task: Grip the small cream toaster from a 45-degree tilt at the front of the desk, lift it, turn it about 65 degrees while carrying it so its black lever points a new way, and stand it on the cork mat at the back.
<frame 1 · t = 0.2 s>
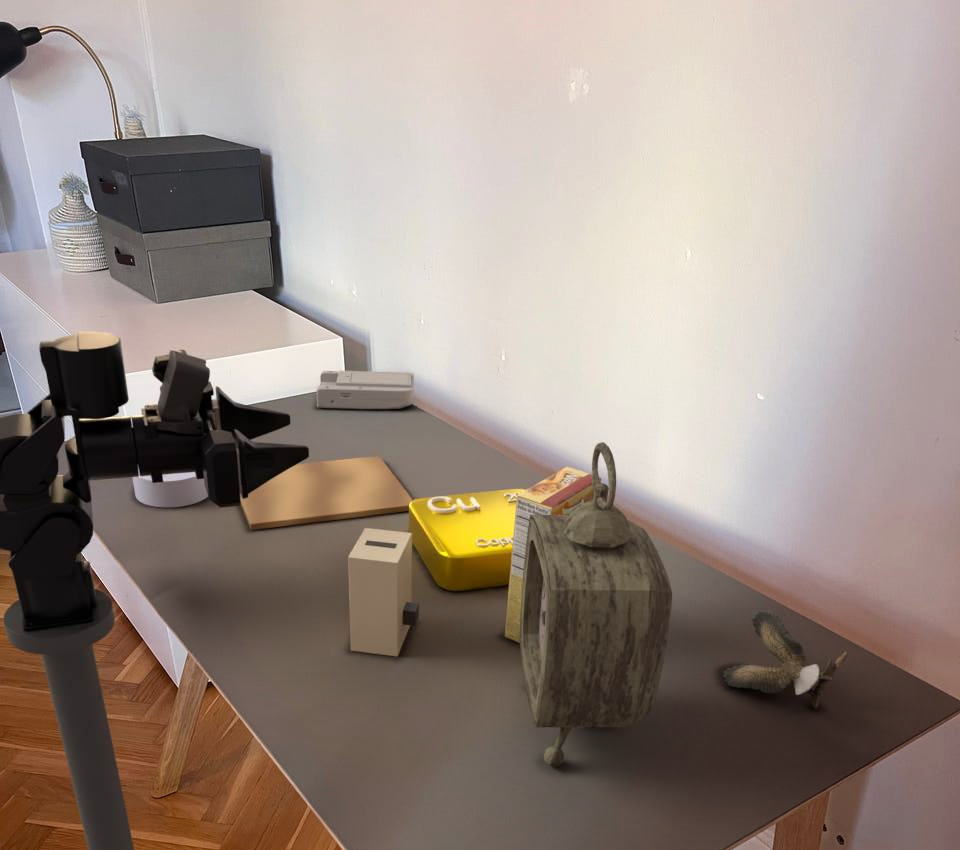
hand: (299, 434, 95), 15 cm above the table, tool horizontal, fingers open, 9 cm apart
tabletop clock: (575, 725, 81), on the table
candy box: (544, 628, 94), on the table
element tile: (485, 555, 106), on the table
handheld gaming device: (366, 375, 146), point 4 cm above the table
toaster: (381, 636, 91), on the table
cork mat: (320, 492, 118), on the table
wedge on round base: (173, 486, 118), on the table
eagle figurine: (774, 690, 87), on the table
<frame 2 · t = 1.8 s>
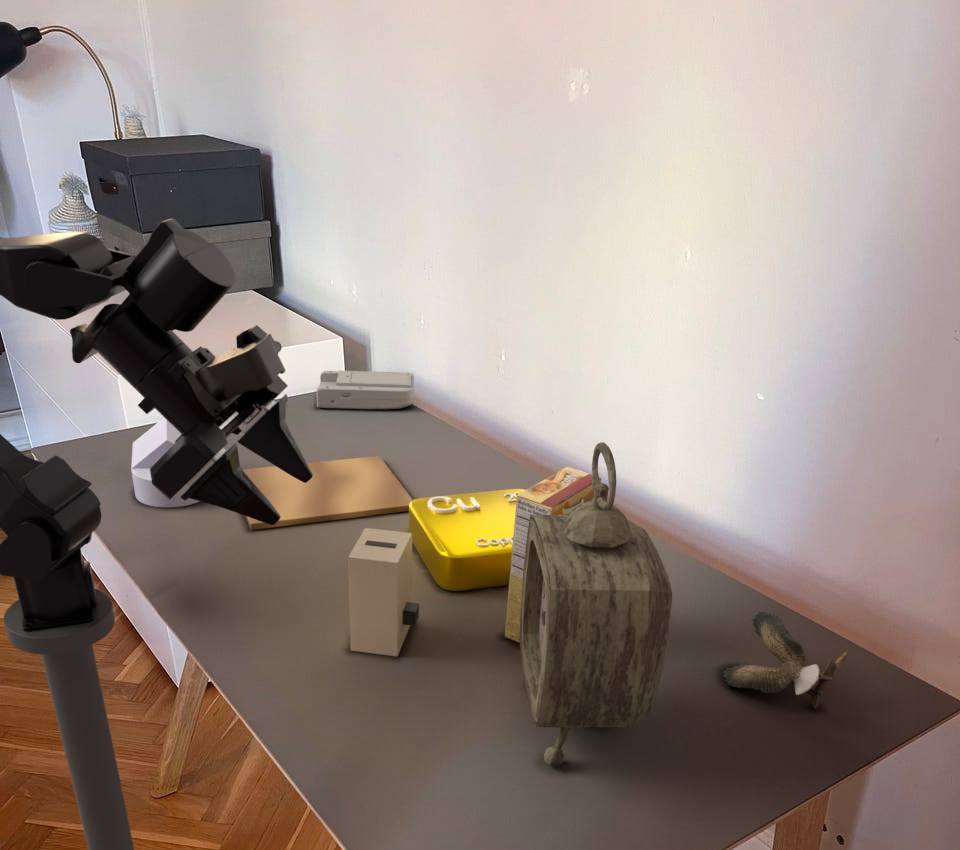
hand: (294, 499, 84), 14 cm above the table, tool tilted 45°, fingers open, 9 cm apart
nothing on the table moved.
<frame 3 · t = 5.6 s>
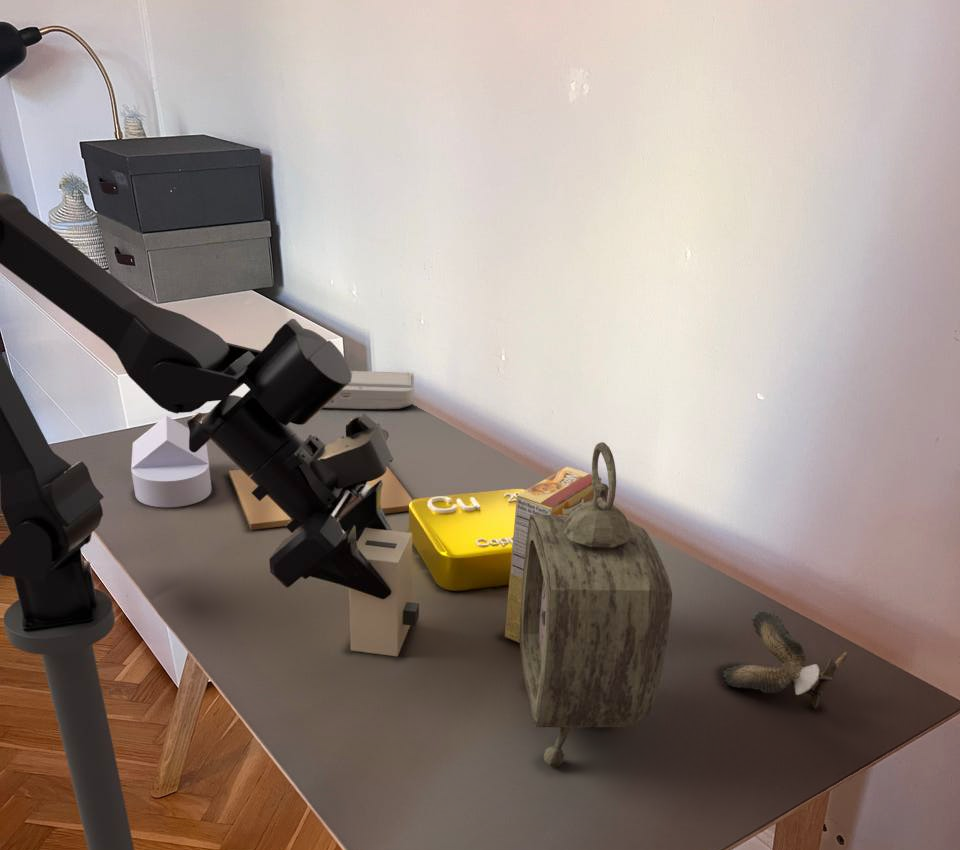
hand: (395, 579, 87), 7 cm above the table, tool tilted 45°, fingers closed on toaster, 6 cm apart
toaster: (381, 636, 91), on the table, touching gripper
everything else where it was.
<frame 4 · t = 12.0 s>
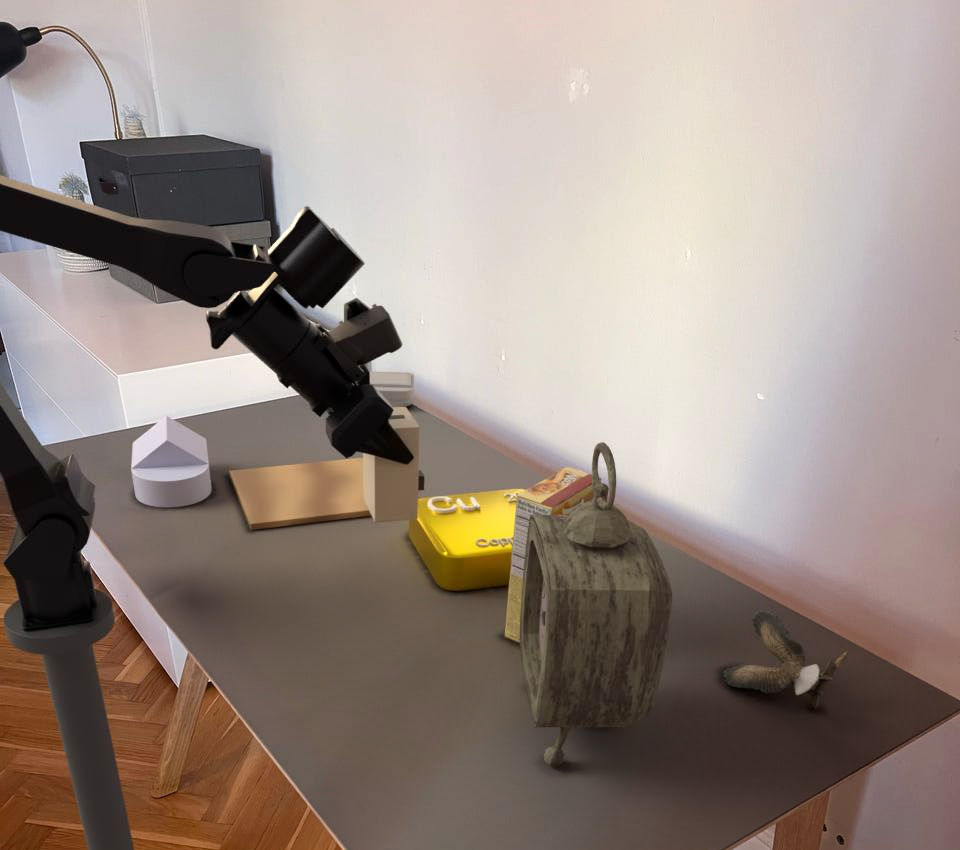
hand: (403, 449, 96), 13 cm above the table, tool tilted 45°, fingers closed on toaster, 6 cm apart
toaster: (390, 508, 99), point 7 cm above the table, touching gripper
everything else where it was.
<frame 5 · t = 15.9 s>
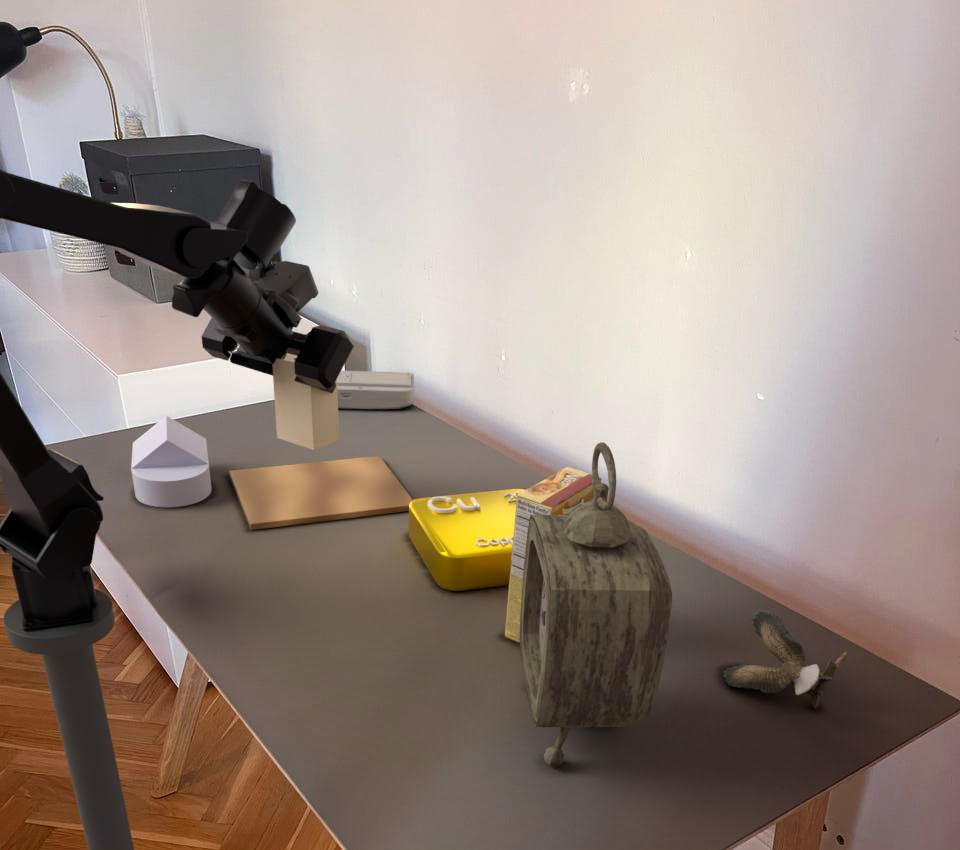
hand: (313, 383, 112), 13 cm above the table, tool tilted 45°, fingers closed on toaster, 6 cm apart
toaster: (308, 439, 115), point 7 cm above the table, touching gripper
everything else where it was.
when the fingers open (7 cm above the table, at t = 18.8 s): toaster stays where it is, resting on cork mat.
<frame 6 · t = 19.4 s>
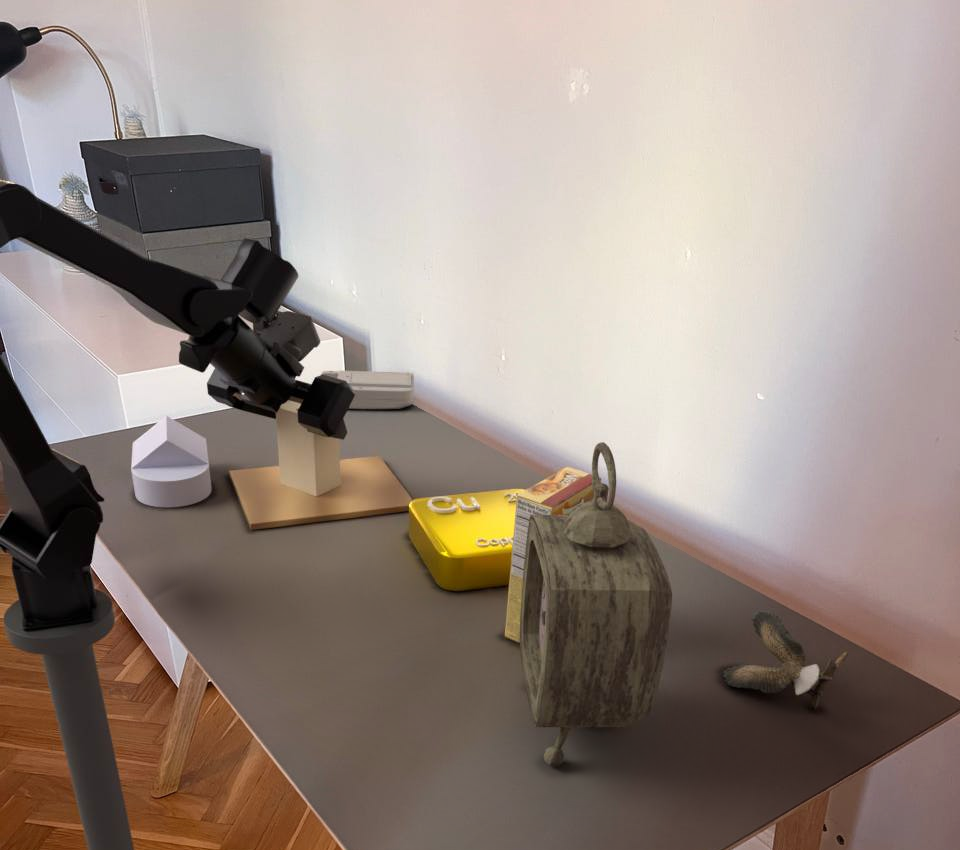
hand: (315, 426, 115), 8 cm above the table, tool tilted 45°, fingers open, 9 cm apart
toaster: (310, 484, 118), point 1 cm above the table, touching cork mat
everything else where it was.
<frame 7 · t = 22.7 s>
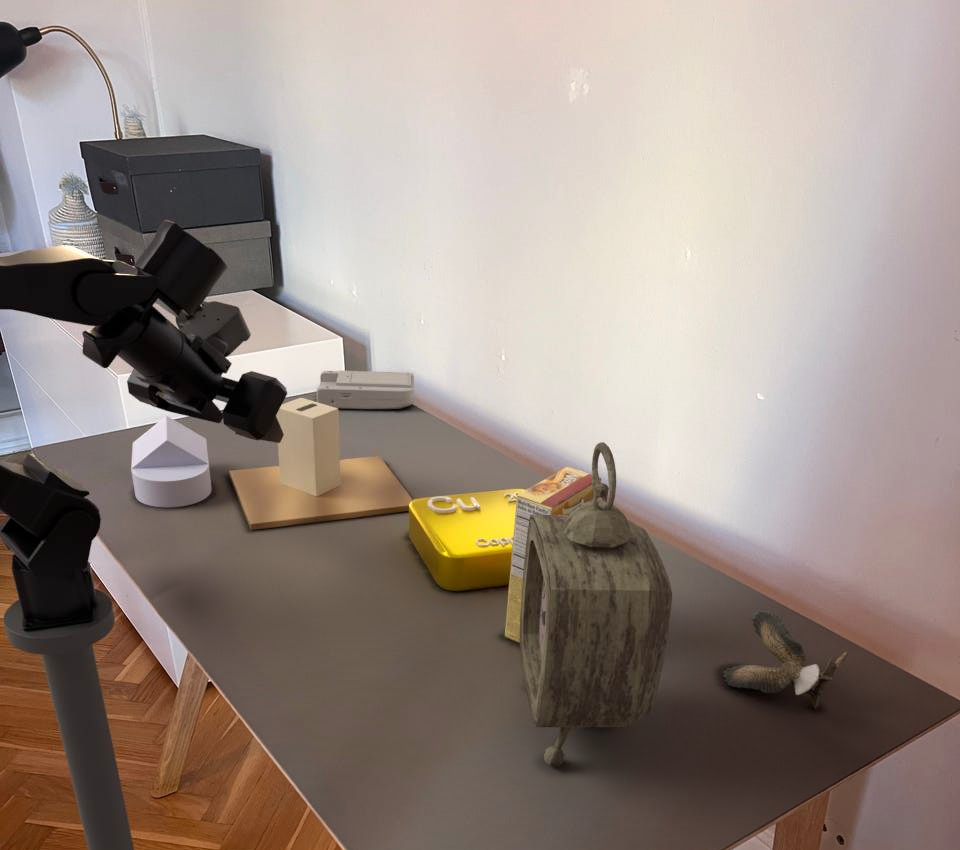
hand: (250, 428, 105), 11 cm above the table, tool tilted 45°, fingers open, 9 cm apart
nothing on the table moved.
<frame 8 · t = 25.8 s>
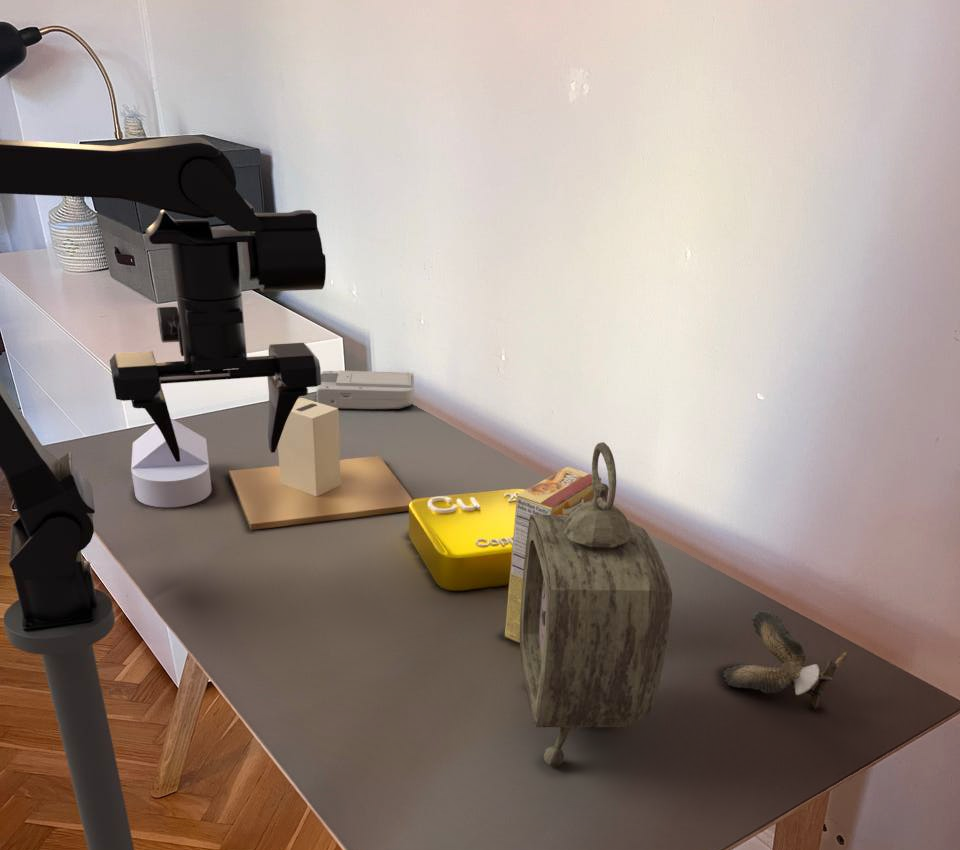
hand: (225, 455, 94), 13 cm above the table, tool pointing down, fingers open, 9 cm apart
nothing on the table moved.
at the end: toaster inside the target area on the cork mat (0.5 cm from its centre), point 0.8 cm above the cork mat's base; toaster tilted 0°; the gripper is holding nothing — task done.
